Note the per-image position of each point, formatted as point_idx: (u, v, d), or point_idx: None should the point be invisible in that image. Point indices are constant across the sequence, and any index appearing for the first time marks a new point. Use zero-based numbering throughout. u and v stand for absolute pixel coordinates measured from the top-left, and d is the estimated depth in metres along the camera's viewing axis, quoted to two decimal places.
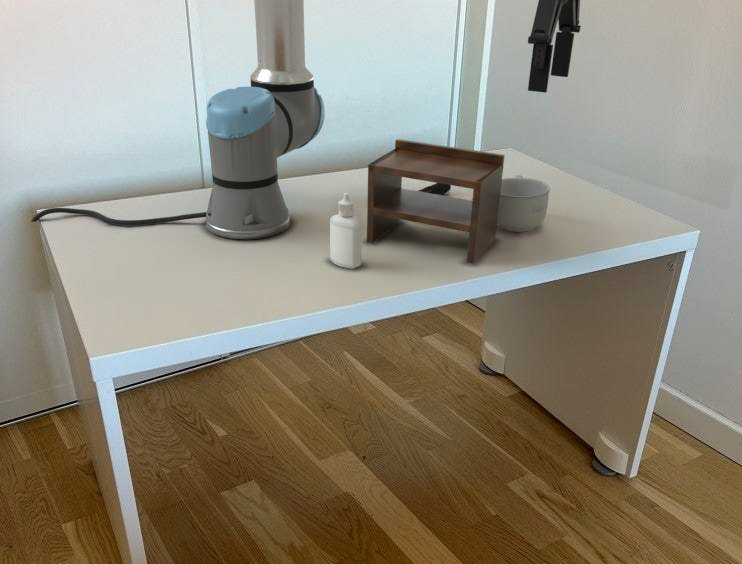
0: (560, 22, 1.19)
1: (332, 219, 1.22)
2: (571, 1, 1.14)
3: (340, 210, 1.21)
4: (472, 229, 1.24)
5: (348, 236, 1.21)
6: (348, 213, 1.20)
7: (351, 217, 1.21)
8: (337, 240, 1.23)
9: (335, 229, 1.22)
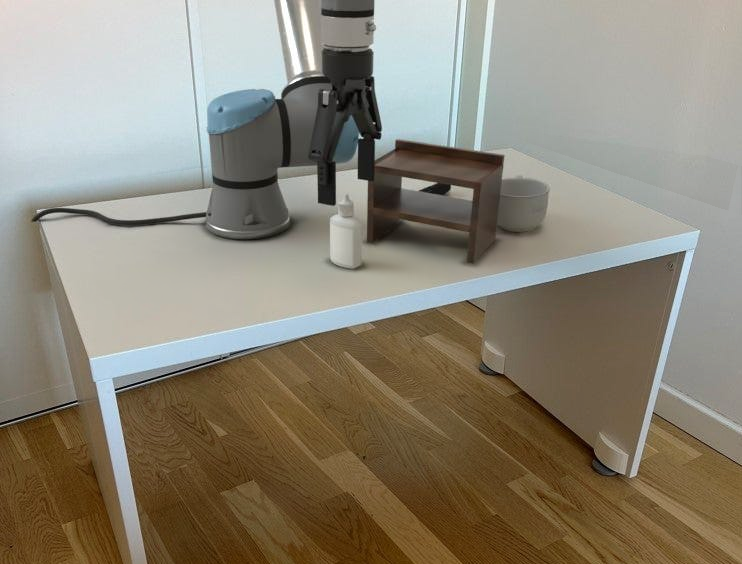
0: (360, 130, 1.21)
1: (332, 219, 1.22)
2: (363, 113, 1.16)
3: (340, 210, 1.21)
4: (472, 229, 1.24)
5: (348, 236, 1.21)
6: (348, 213, 1.20)
7: (351, 217, 1.21)
8: (337, 240, 1.23)
9: (335, 229, 1.22)
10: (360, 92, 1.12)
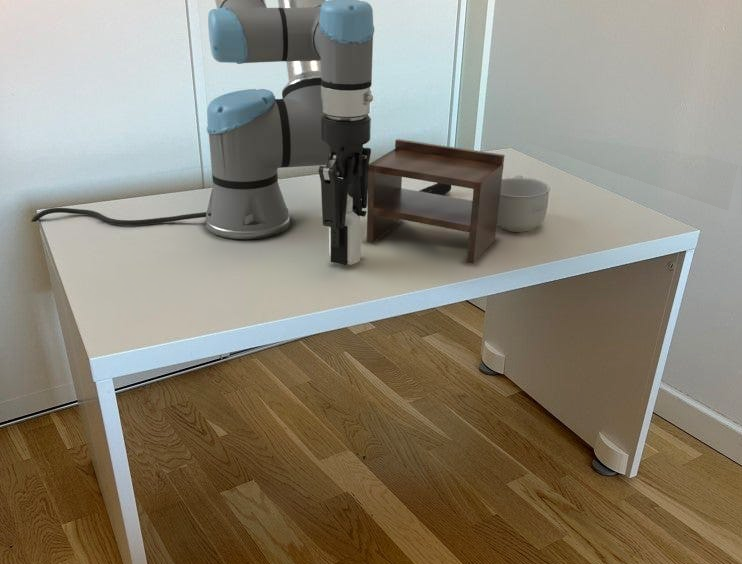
0: None
1: None
2: (355, 180, 1.20)
3: None
4: (472, 229, 1.24)
5: None
6: (347, 209, 1.20)
7: (350, 213, 1.21)
8: None
9: None
10: (358, 154, 1.17)
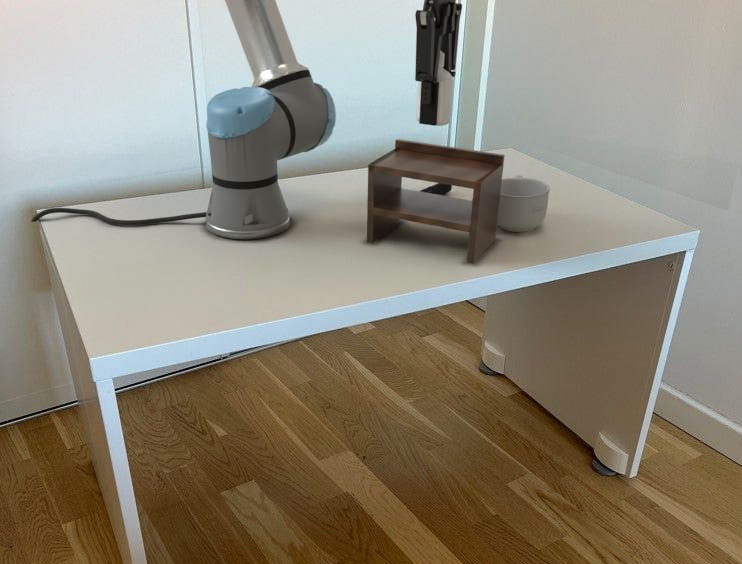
0: None
1: None
2: (447, 34, 1.17)
3: None
4: (472, 229, 1.24)
5: (439, 89, 1.19)
6: (439, 64, 1.18)
7: (442, 69, 1.18)
8: None
9: None
10: (453, 3, 1.14)
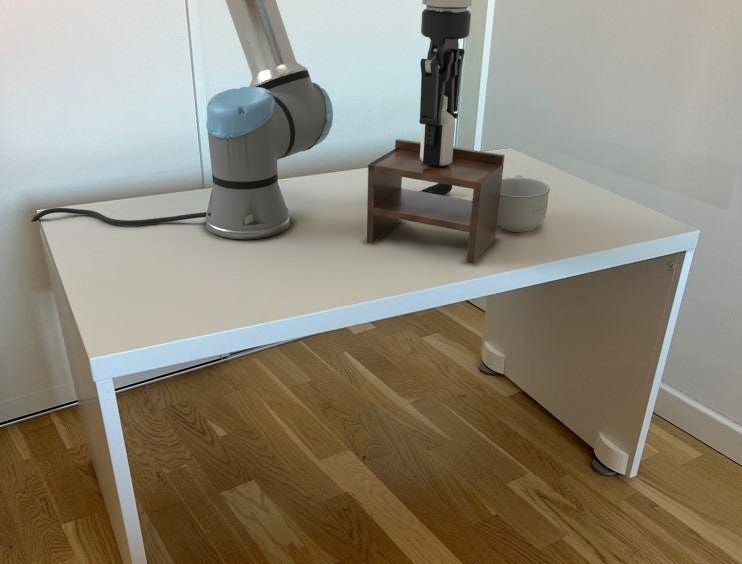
0: None
1: None
2: (450, 79, 1.22)
3: None
4: (472, 229, 1.24)
5: (442, 131, 1.23)
6: (442, 108, 1.22)
7: (445, 112, 1.23)
8: None
9: None
10: (456, 50, 1.19)
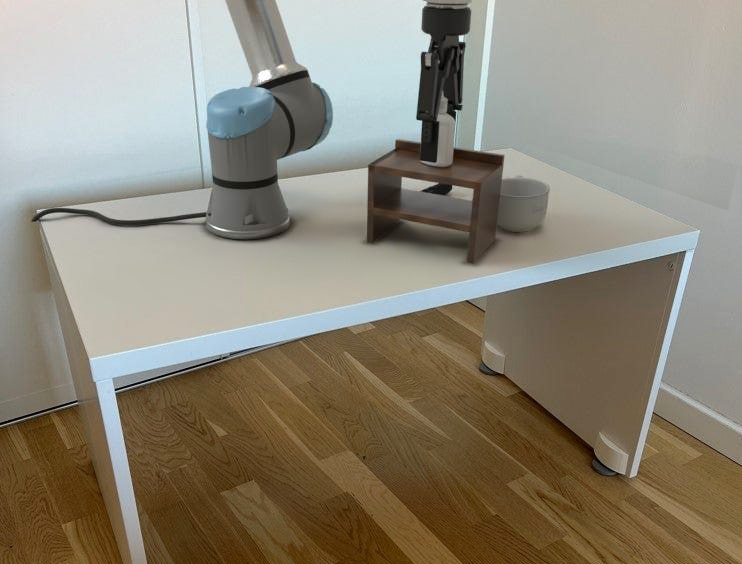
0: None
1: None
2: (452, 75, 1.22)
3: None
4: (472, 229, 1.24)
5: (442, 133, 1.23)
6: (443, 109, 1.22)
7: (445, 114, 1.23)
8: None
9: None
10: (456, 47, 1.18)
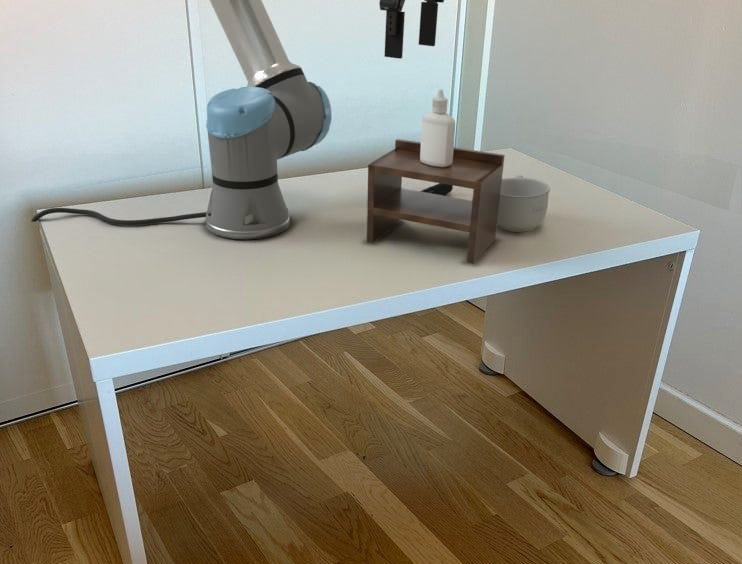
0: None
1: (425, 117, 1.24)
2: None
3: (435, 107, 1.22)
4: (472, 229, 1.24)
5: (442, 133, 1.23)
6: (443, 109, 1.22)
7: (445, 114, 1.23)
8: (430, 138, 1.25)
9: (428, 127, 1.24)
10: None
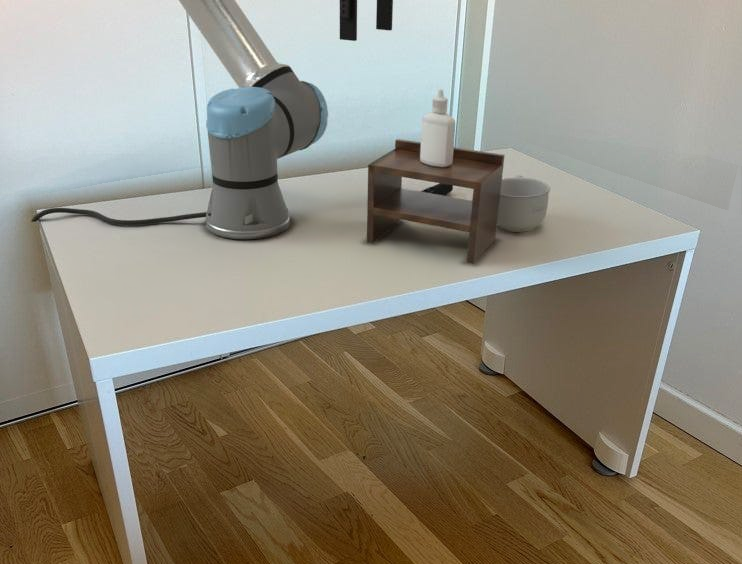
0: None
1: (425, 117, 1.24)
2: None
3: (435, 107, 1.22)
4: (472, 229, 1.24)
5: (442, 133, 1.23)
6: (443, 109, 1.22)
7: (445, 114, 1.23)
8: (430, 138, 1.25)
9: (428, 127, 1.24)
10: None
